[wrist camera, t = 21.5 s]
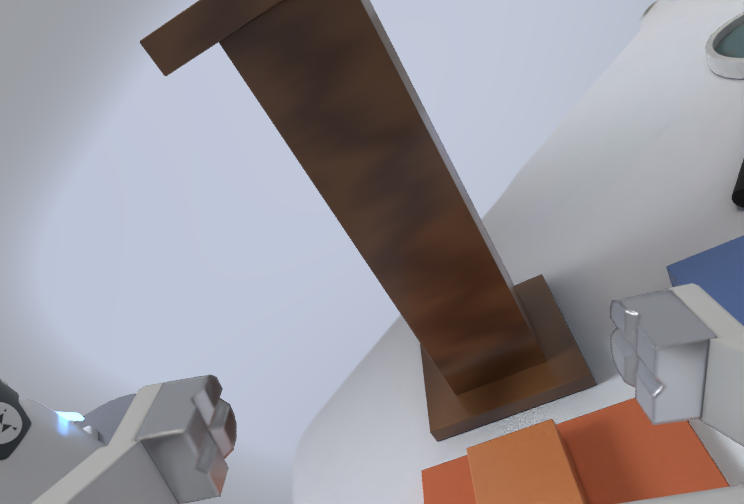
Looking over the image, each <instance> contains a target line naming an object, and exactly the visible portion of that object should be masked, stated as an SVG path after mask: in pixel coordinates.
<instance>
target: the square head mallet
mask: <svg viewBox="0 0 744 504" xmlns="http://www.w3.org/2000/svg"><path fill="white" fill-rule="evenodd" d="M467 455H468V460H469V466H470V471H471V477H472V482H473V488H474V493H475V498H476V504H588V502H587V499H586V496H585V494H584V491H583V488H582V486H581V483H580V481H579V478H578V475H577V473H576V470H575V467H574V465H573V462H572V459H571V457H570V454H569V452H568V449H567V446H566V444H565V441H564V439H563V437H562V435H561V433H560V431H559V429H558V428H557V426H556V424H555V422H554V420H553V419H550V420H547V421H544V422H541V423H538V424H536V425H533V426H530V427H527V428H524V429H521V430H518V431H515V432H512V433H510V434H507V435H504V436H501V437H498V438H495V439H492V440H489V441H486V442H484V443H481V444H478V445H475V446H472V447H469V448H467Z"/></svg>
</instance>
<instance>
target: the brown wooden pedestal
mask: <svg viewBox="0 0 744 504" xmlns="http://www.w3.org/2000/svg"><path fill="white" fill-rule="evenodd" d="M218 42H219V43H220V45H221V46H222V48H223V49H224V51H225V52H226V54H227V55H228V57H229V58H230V60H231V61H232V63H233V64H234V66H235V67H236V69H237V70H238V71H239V73H240V75H241V76H242V78H243V79H244V81H245V82H246V84H247V85H248V87H249V88H250V90H251V91H252V93H253V94H254V96H255V97H256V98H257V100H258V102H259V103H260V105H261V106H262V107H263V109H264V110H265V112H266V113H267V115H268V116H269V118H270V119H271V121H272V122H273V124H274V125H275V127H276V128H277V130H278V131H279V133H280V134H281V136H282V137H283V139H284V140H285V142H286V143H287V145H288V146H289V147H290V149H291V151H292V152H293V154H294V155H295V157H296V158H297V160H298V161H299V163H300V164H301V166H302V167H303V169H304V170H305V171H306V173H307V175H308V176H309V177H310V179H311V181H312V182H313V183H314V185H315V187H316V188H317V189H318V191H319V193H320V194H321V195H322V197H323V198H324V200H325V201H326V203H327V204H328V206H329V207H330V209H331V210H332V212H333V213H334V215H335V216H336V217H337V219H338V221H339V222H340V224H341V225H342V227H343V228H344V230H345V231H346V233H347V234H348V236H349V237H350V239H351V240H352V242H353V243H354V245H355V246H356V248H357V249H358V251H359V252H360V254H361V255H362V257H363V258H364V260H365V261H366V263H367V264H368V266H369V267H370V268H371V270H372V272H373V273H374V274H375V276H376V277H377V279H378V280H379V282H380V283H381V285H382V286H383V288H384V289H385V291H386V292H387V294H388V295H389V297H390V298H391V300H392V301H393V303H394V304H395V306H396V307H397V309H398V310H399V312H400V313H401V315H402V316H403V318H404V319H405V321H406V322H407V324H408V325H409V327H410V328H411V330H412V331H413V333H414V334H415V336H416V337H417V339H418V340H419V342H420V347H421V355H422V364H423V373H424V381H425V390H426V399H427V407H428V416H429V424H430V432H431V434H432V435H433V436H434V438H435V439H436V441H440V440H443V439H446V438H449V437H451V436H454V435H457V434H460V433H463V432H466V431H468V430H471V429H474V428H477V427H480V426H482V425H485V424H488V423H491V422H494V421H497V420H499V419H502V418H505V417H508V416H511V415H513V414H516V413H519V412H522V411H525V410H528V409H530V408H533V407H536V406H539V405H542V404H544V403H547V402H550V401H553V400H556V399H559V398H561V397H564V396H567V395H570V394H573V393H575V392H578V391H581V390H584V389H587V388H590V387H592V386H595V385H596V382H595V380H594V378H593V376H592V373H591V371H590V369H589V367H588V365H587V363H586V361H585V359H584V357H583V355H582V353H581V351H580V349H579V347H578V345H577V343H576V341H575V339H574V337H573V335H572V333H571V331H570V329H569V327H568V325H567V323H566V321H565V319H564V317H563V315H562V313H561V311H560V309H559V307H558V305H557V303H556V301H555V299H554V297H553V295H552V293H551V291H550V289H549V287H548V285H547V283H546V281H545V279H544V277H543V275H542V274H541V275H539V276H536V277H534V278H532V279H529V280H527V281H525V282H522V283H520V284H517V285H515V286H514V284H513V282H512V280H511V278H510V276H509V274H508V272H507V270H506V268H505V266H504V264H503V262H502V260H501V258H500V256H499V254H498V252H497V250H496V248H495V246H494V244H493V242H492V240H491V238H490V237H489V235H488V233H487V231H486V229H485V227H484V225H483V223H482V221H481V219H480V217H479V215H478V213H477V211H476V209H475V207H474V205H473V203H472V201H471V199H470V197H469V195H468V193H467V191H466V189H465V187H464V185H463V183H462V181H461V180H460V177H459V176H458V173H457V172H456V169H455V168H454V166H453V164H452V162H451V160H450V158H449V156H448V154H447V152H446V150H445V148H444V146H443V144H442V142H441V140H440V138H439V136H438V134H437V132H436V130H435V128H434V126H433V124H432V122H431V120H430V118H429V116H428V114H427V112H426V110H425V108H424V106H423V104H422V103H421V101H420V99H419V96H418V95H417V93H416V91H415V89H414V87H413V85H412V83H411V81H410V79H409V77H408V75H407V73H406V71H405V69H404V67H403V65H402V63H401V61H400V59H399V57H398V55H397V53H396V51H395V49H394V48H393V45H392V43H391V41H390V39H389V37H388V35H387V33H386V31H385V30H384V27H383V25H382V24H381V22H380V20H379V18H378V16H377V14H376V12H375V10H374V8H373V6H372V4H371V2H370V0H199V1H197V2H196V3H195V4H193V5H192V6H190V7H189V8H187V9H186V10H184V11H183V12H181V13H180V14H178V15H177V16H176V17H174V18H173V19H171V20H170V21H168V22H167V23H165V24H164V25H162V26H161V27H160V28H158V29H157V30H155V31H154V32H152V33H151V34H149V35H148V36H146V37H145V38H144V39H142V40H141V41H140V43H141V45H142V46H143V47H144V49H145V50H146V52H147V53H148V54H149V55H150V57H151V58H152V60H153V61H154V62H155V64H156V65H157V66H158V68H159V69H160V70H161V72H162V73H163V74H164V75H165V76H167V75H168V74H170V73H172V72H173V71H175V70H176V69H178V68H179V67H181V66H182V65H184V64H186V63H187V62H189V61H190V60H192V59H193V58H195V57H196V56H198V55H199V54H201V53H203V52H204V51H206V50H207V49H209V48H210V47H212V46H213V45H215V44H216V43H218Z"/></svg>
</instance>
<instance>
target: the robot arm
mask: <svg viewBox="0 0 744 504" xmlns="http://www.w3.org/2000/svg"><path fill="white" fill-rule="evenodd" d="M610 318H611V319H612V321H613V322H614V324H615V325H616V326H617V327H616V329H615V330H614V331H613V333H612V334H611V335H610V341H611V352H612V356H613V360H614V364H615V366H616V368H617V370H618V372H619V374H620V376H621V377H622V379H623V381H624V382H625V383H627V384H629V385H631V386H633V387H635V388H636V390H635V399H636V401H637V402H638V404H639V405H640V407H641V408H642V410H643V411H644V413H645V414H646V416H647V417H648V419H649V420H650V422H651V423H652V425H659V424H666V423H673V422H680V421H688V420H695V419H702V421H703V422H704V423H706V424H708V425H709V426H711V427H712V428H714V429H716V430H717V431H719V432H721V433H722V434H724V435H726V436H727V437H729V438H730V439H732V440H734V441H735V442H737V443H739V444H740V445H742V446H744V326H743V325H742V324H741V323H740V322H739V321H738V320H737V319H735V318H734V317H733V316H732V315H731V314H730V313H729V312H728V311H727V310H725V309H724V308H723V307H722V306H721V305H720V304H719V303H718V302H716V301H715V300H714V299H713V298H712V297H711V296H710V295H709V294H708V293H706V292H705V291H704V290H703V289H702V288H701V287H700V286H698V285H696V284H693V283H691V284H686V285H682V286H677V287H672V288H667V289H665V290H662V291H657V292H652V293H646V294H641V295H636V296H631V297H625V298H620V299H615V300H612V302H611V306H610ZM221 392H222V387H221V385H220V383H219V381H218V379H217V377H215V376H213V375H206V376H200V377H194V378H187V379H181V380H175V381H169V382H166V383H158V384H153V385H147V386H144V387H142V388H141V389H139V391H138V393H137V394H136V396H135V398H134V399H133V401H132V403H131V405H130V407H129V408H128V410H127V412H126V414H125V416H124V417H123V419H122V421H121V423H120V425H119V426H118V428H117V430H116V432H115V433H114V435H113V437H112V439H111V441H110V442H109V444H108V446H107V445H105V444H104V443H102V442H100V441H99V440H98V430H97V429H95V428H93V427H92V426H86V427H84V428H83V429H82V428H80V427H79V426H77V425H76V424H74V423H72V422H71V421H69V420H77V421H83V420H84V418H83V417H82V416H81V415H80V414H78V413H69V412H55V411H54V410H52V409H50V408H49V407H47V406H45V405H44V404H42V403H41V402H39V401H37V400H34V399H27V400H19V399H18V398H19V395H18V393H17V392H15V391H14V390H13V389H11V388H10V387H9V386H8V384H7V383H6V382H4V381H3V380H1V379H0V504H183V503H189V502H194V501H199V500H204V499H210V498H215V497H220V496H221V492H222V489H223V485H224V482H225V478H226V475H227V471H228V466H227V464H226V462H225V460H224V459H225V458H226V457H227V456H228V455H229V454H230V453H231V452H232V451H233V450H234V446H235V442H236V420H235V416H234V412H233V410H232V408H231V406H230V404H228V403H227V402H225V401H224V400H222V399H220V395H221ZM618 504H744V484H742V485H736V486H729V487H723V488H716V489H710V490H703V491H697V492H690V493H684V494H677V495H671V496H664V497H658V498H651V499H645V500H638V501H632V502H625V503H618Z"/></svg>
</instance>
